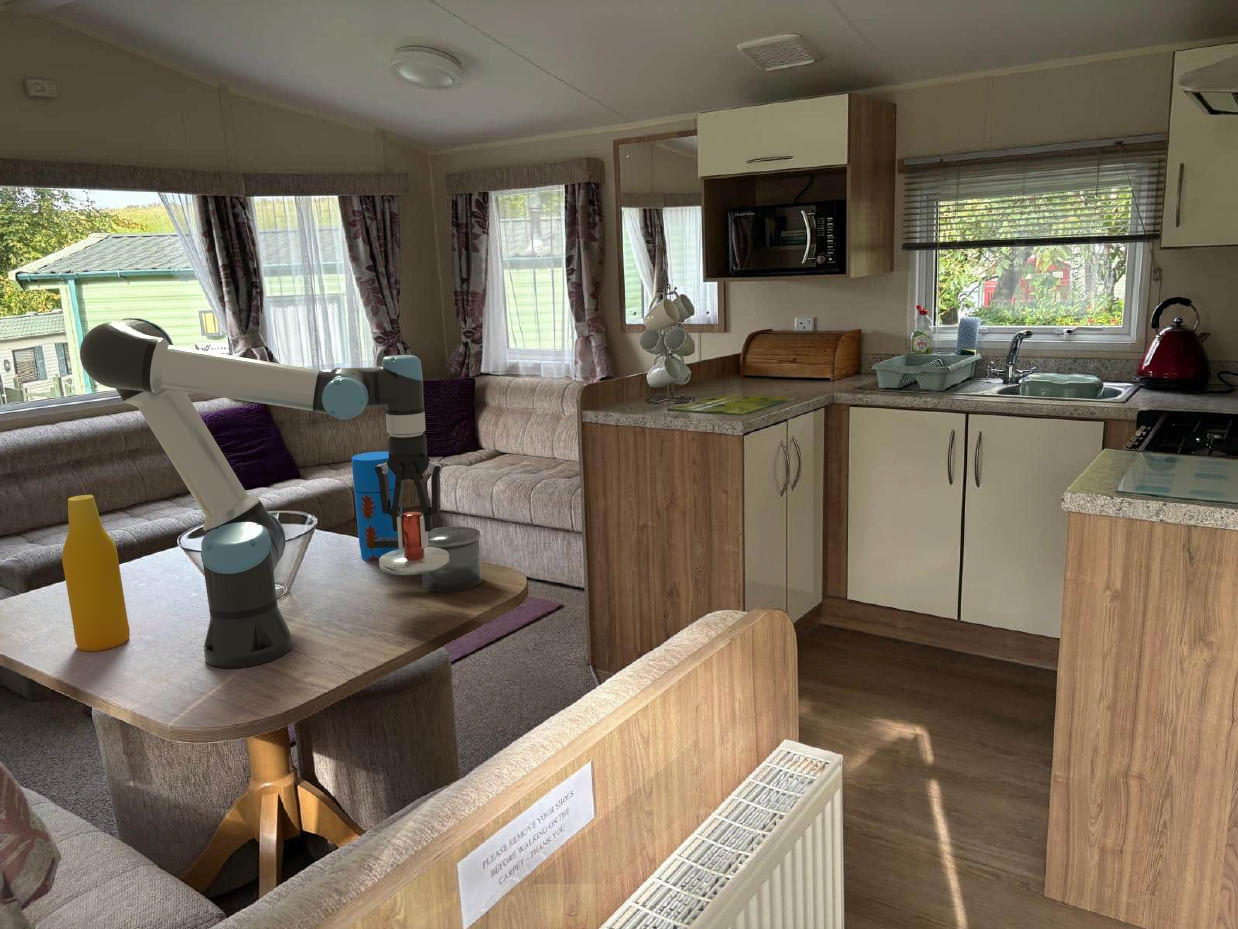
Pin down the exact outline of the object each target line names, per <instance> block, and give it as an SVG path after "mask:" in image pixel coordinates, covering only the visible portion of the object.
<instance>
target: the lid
mask: <svg viewBox="0 0 1238 929" xmlns="http://www.w3.org/2000/svg"><path fill="white" fill-rule="evenodd" d="M422 515H423V512H419V511H407V512H404V513H402V528H403V543H404V548H403V549H398V550H394V551H391V552H388V553H386V554H384V555H382V556H381V557H380V559H379V561H378V562H379V569H380V570H381V571H383V572H384V573H387V574H389V575H390V574H391V575H398V576H415V575H422V574H425V573H430V572H434V571H437V570H440V569H442V568H444V567H446V566H447V565H448V564H449V562H450V559H449V553H448V552H447V551H446V550H444V549H440V548H435V547H426V548H422V546H421V530H420V517H421V516H422Z"/></svg>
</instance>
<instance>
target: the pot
mask: <svg viewBox="0 0 1238 929" xmlns="http://www.w3.org/2000/svg"><path fill="white" fill-rule="evenodd" d="M480 539H481V531H480V530H479V529H478V528H474V527H470V526H460V525H459V526H457V525H455V526H453V525H452V526H443V527H436V528H432V530H431V531H430V532H428V543H429V545H428V546H427V547H435V548H440V549H444V550H446V551H447V552H448V553H449V559H450V562H449V564H448V565H447V566H446V567H444V568H442V569H440V570H437V571H434V572H430V573H425V574H421V581H422V587H423V588H424V589H425V590H427V591H430V592H435V593H456V592H461V591H462V592H463V591H465V590H469V589H470V590H471V589H474V587H477V586H478V585H480V584H481V583H482V581H483V580H482V567H481V565H482V564H481V550H480ZM374 548H399V543H398V537H378V538H377V539H376V540H375V541H374ZM403 548H404V547H403ZM480 582H481V583H480ZM479 583H480V584H479ZM476 585H477V586H476Z"/></svg>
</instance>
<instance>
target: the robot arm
mask: <svg viewBox="0 0 1238 929" xmlns="http://www.w3.org/2000/svg"><path fill="white" fill-rule="evenodd" d="M79 358H80V363H81V366H82V368H83V369H84V371H85V372H86V374H87V375H88V376H89V377H90V378H91V379H92V380H94V381H95V382H96V383H98V384H100V385H102V386H104V387H107V388H111V389H115V390H116V392H117V393H118V395H119V397H120V398H121V400H122V401H123V403H125V404H128V405H131V406H135V407H136V408H138V410H139V412H140V413H141V415H142V417H143V419H144V420H145V421H146V424H147V425H148V426H149V428H150V429H151V431H152V433H153V434H154V436H155V438H156V439H157V441H158V442H159V444H160V446H161V447H162V449H163V451H164V452H165V453H166V455H167V457H168V458H169V460H170V462H171V463H172V465H173V466H174V468H175V469H176V472H177V473H178V475H179V476H180V478H181V479H182V481H183V483H184V484H185V486H186V487H187V489H188V491H189V492H190V494H191V495H192V497H193V499H194V500H195V502H196V503H197V505H198V508H200V510H201V512H202V513H203V515H204V517H205V518H204V519H205V520H204V523H203V526H202V529H203V531H204V532H205V535H204V536H203V538H202V540H201V544H200V545H201V546H200V548H201V550H200V558H201V562H202V567H203V573H204V580H205V588H206V595H207V597H206V598H207V602H208V604H207V605H208V609H209V610H208V611H209V617H210V618H209V623H208V626H207V631H206V632H207V633H206V636H205V640H204V646H203V652H204V660H205V662H206V664H208V665H210V666H213V667H216V668H224V669H237V668H239V669H240V668H248V667H253V666H257V665H261V664H264V663H268V662H271V661H273V660H276V659H278V658H280V657H282V656H283V655H285V654H287V652H289V651H290V650H291V649H292V646H293V642H292V633H291V630H290V629H289V627H288V624H287V623H286V621H285V619H284V616H283V615H282V612H281V611H280V608H279V606H278V599H277V590H276V583H275V580H276V579H275V570H276V568H277V565H278V563H279V562H280V560H281V558H282V556H283V554H284V551H285V548H286V533H285V530H284V529H285V528H284V527H283V525H282V523H281V521H280V520H279V519H278V518H277V517H276V516H275V515H273V514H271V512H268V511H267V509H266V507H265V506H264V505H263V502H262V501H261V499H260V498H259V497H257V496H252V495H250V494H248V493H247V491H246V489H245V488H244V487H243V485H242V482H240V480H239V478H238V477H237V474H236V473H235V471H234V470H233V468H232V467H231V465H230V463H229V461H228V460H227V458H226V456H225V455H224V453H223V451H222V450H221V448H220V447H219V445H218V443H217V442H216V440H215V438H214V436H213V435H212V434H211V432H210V430H209V428H208V427H207V425H206V423H205V421H204V420H203V419H202V417H201V415H200V414H199V412H198V410H197V409H196V407H195V405H194V403H193V401H191V398H190V397H189V395H188V393H193V394H199V395H200V394H201V395H206V396H212V397H219V398H225V399H232V400H238V401H244V402H252V403H259V404H263V405H264V404H266V405H271V406H277V407H283V408H292V409H296V410H297V409H298V410H303V411H312V412H315V413H321V414H326V415H330V416H331V417H333V418H336V419H339V420H345V421H346V420H351V419H354V418H355V417H358V416H359V415H361V414H362V413H363V412H364V410H365V409H366V407H369V406H384V407H385V419H386V420H385V421H386V422H385V423H386V432H387V434H388V436H387V438H386V439H387V452H388V453H389V457H388V460H387V462H386V463H384V464H379V465H378V466H376V467H375V472H376V474H377V476H378V478H379V488H380V497H381V506H382V512H383V513H384V514H389V515H391V516H392V524H393V531H394V532H398V543H399V549H403V547H404V543H403V528H402V514H403V513H402V514H400V512H401V511H400V510H401V504H402V503H403V502H402V501H403V494H404V488H405V482H406V481H407V480H410V481H413V485H414V486H415V488H416V493H417V497H418V499H419V503H420V504H419V505H420V508H421V511H422V512H421V513H422V516H421V517H420V530H421V546H422V548H426V547H427V546H428V545H429V543H428V532H430V531H431V530H432V529H433V518H432V517H433V515H436V514H438V512H440V510H441V473H442V470H443V467H444V466H443V464H442V463H435V462H432V461H431V459H430V458H429V455H428V449H427V448H428V447H427V445H428V444H427V443H428V442H427V435H426V434H425V431H426V416H425V415H426V413H425V412H426V411H425V398H424V395H425V394H424V378H423V368H422V360H421V359H420V358H419V357H418V356H416V355H412V354H398V355H397V354H396V355H387V356H384V357H383V358H382V361H381V362H382V363H381V366H375V367H335V368H326V369H321V370H319V369H314V368H308V367H307V368H306V367H301V366H297V365H296V366H295V365H290V364H284V363H277V362H271V361H266V360H265V361H264V360H260V359H255V358H254V359H253V358H247V357H242V356H235V355H229V354H224V353H218V352H213V351H206V350H201V349H195V348H188V347H183V346H176V345H174V343H173V341H172V338H171V337H170V335H169V334H168V333H167V332H166V330H165V329H164V328H163V327H161V326H160V325H158V324H156V323H154V322H153V321H151V320H146V319H142V318H138V317H137V318H136V317H128V318H127V317H125V318H123V319H120V320H119V319H118V320H115V321H108V322H104V323H101V324H98V325H96V326H95V327H93V328H92V329H90V330H89V331H88V332H87V333H86V335H85V336H84V338H83V339H82V342H81V344H80V349H79ZM388 468H390V469H391V471H392V472H393V473H394V474H395V476H396V478H395V490H394V497H393V504H392V507H391V500H390V490H389V481H388V474H387V473H388V471H389V470H388ZM427 469H429V473H430V474H431V478H430V479H431V480H430V484H431V487H430V488H431V489H430V490H431V502H430V499H429V494H428V490H427V487H426V483H425V476H424V474H425V472H426V471H427Z"/></svg>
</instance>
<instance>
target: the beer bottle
mask: <svg viewBox="0 0 1238 929" xmlns="http://www.w3.org/2000/svg"><path fill="white" fill-rule="evenodd" d="M67 511H68V512H67V514H68V533H67V535H66V539H65V542H64V545H63V549H62V557H61V561H62V567H63V572H64V578H65V579H64V580H65V585H66V590H67V591H66V592H67V596H68V603H69V608H70V615H71V619H72V620H71V621H72V625H73V626H72V627H73V634H74V640H75V644H76V647H77V649H79V650H80V651H83V652H90V651H91V652H101V650H102V651H106V650H109V649H111V650H112V649H114V648H116V647H119V646H121V645H124V643H126V642H127V641H128V640H129V639H130V632H131V631H130V630H131V629H130V624H129V619H128V614H127V607H126V601H125V596H124V595H125V594H124V588H123V580H122V575H121V569H120V568H121V567H120V562H119V554H118V551H117V550H118V549H117V546H116V544H115V542H114V541H113V539H112V537H111V536H110V534H109V533H108V532H107V531H106V529H105V528H104V527H103V523H102V521H101V517H100V515H99V514H100V513H99V511H98V507H97V504H96V501H95V496H94V495H92V494H84V495H83V494H82V495H75V496H72V497H69V498H67Z"/></svg>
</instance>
